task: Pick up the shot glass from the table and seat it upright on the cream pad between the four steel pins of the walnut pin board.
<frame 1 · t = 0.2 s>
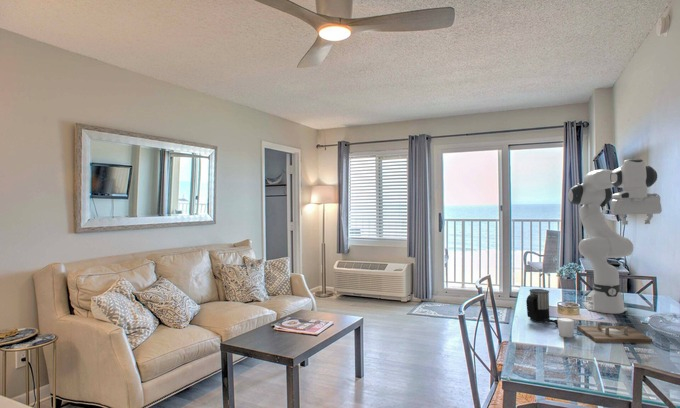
hand: (636, 224, 190), 48 cm above the table, tool pointing down, fingers open, 8 cm apart
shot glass: (566, 335, 185), on the table
pin board: (612, 335, 182), on the table
milk frother: (545, 322, 205), on the table
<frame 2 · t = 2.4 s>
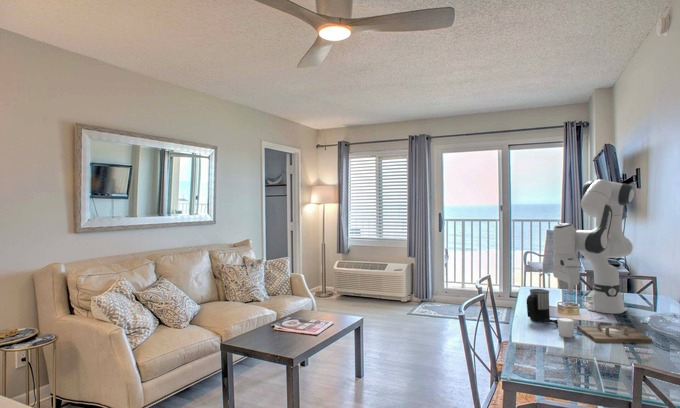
hand: (566, 291, 184), 20 cm above the table, tool pointing down, fingers open, 8 cm apart
nothing on the table moved.
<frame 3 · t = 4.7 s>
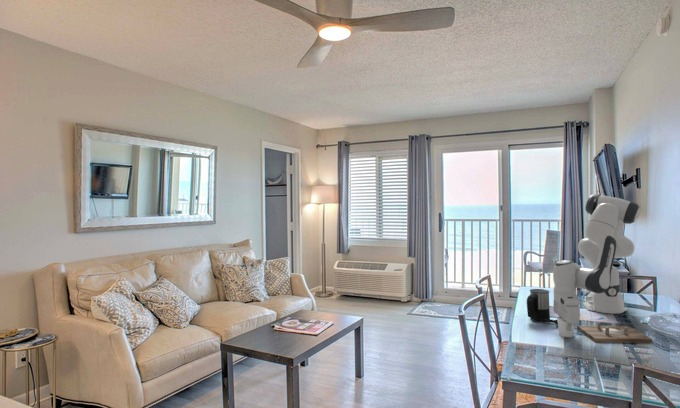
hand: (566, 328, 185), 3 cm above the table, tool pointing down, fingers closed on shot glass, 5 cm apart
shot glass: (566, 335, 185), on the table, touching gripper
everything else where it was.
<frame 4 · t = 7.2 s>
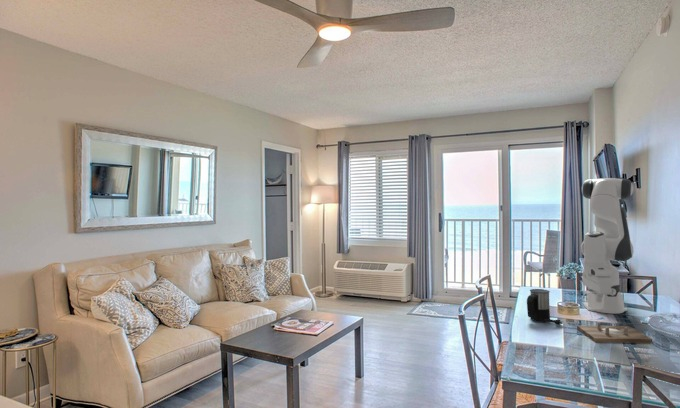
hand: (595, 300, 183), 15 cm above the table, tool pointing down, fingers closed on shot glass, 5 cm apart
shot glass: (595, 308, 184), point 12 cm above the table, touching gripper
everything else where it was.
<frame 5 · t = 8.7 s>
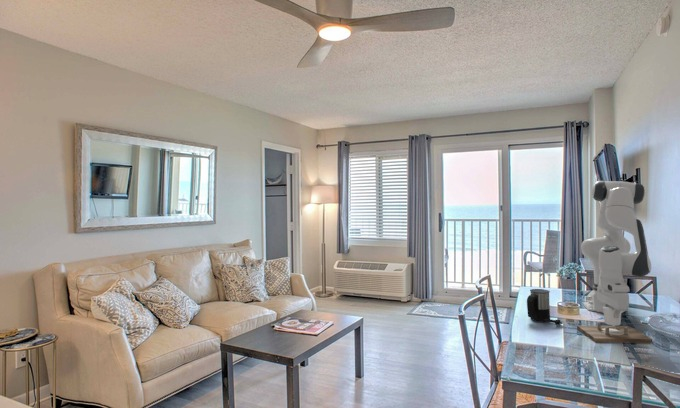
hand: (612, 315, 182), 9 cm above the table, tool pointing down, fingers closed on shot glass, 5 cm apart
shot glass: (612, 323, 182), point 5 cm above the table, touching gripper
everything else where it was.
when the fingers open (6 cm above the table, at t = 9.8 s): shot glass stays where it is, resting on pin board.
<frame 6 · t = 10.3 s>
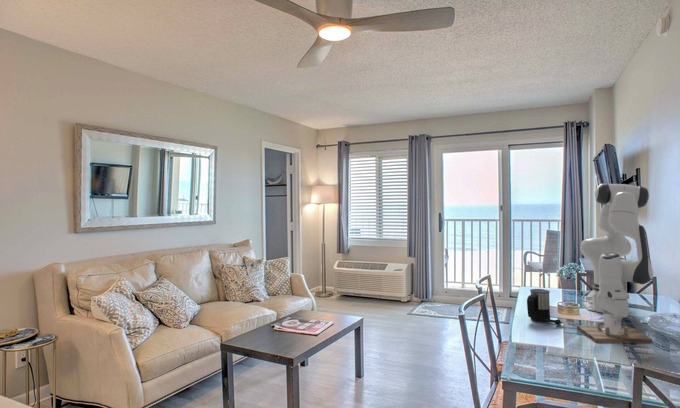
hand: (612, 322, 182), 6 cm above the table, tool pointing down, fingers open, 8 cm apart
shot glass: (612, 331, 182), point 2 cm above the table, touching pin board
everything else where it was.
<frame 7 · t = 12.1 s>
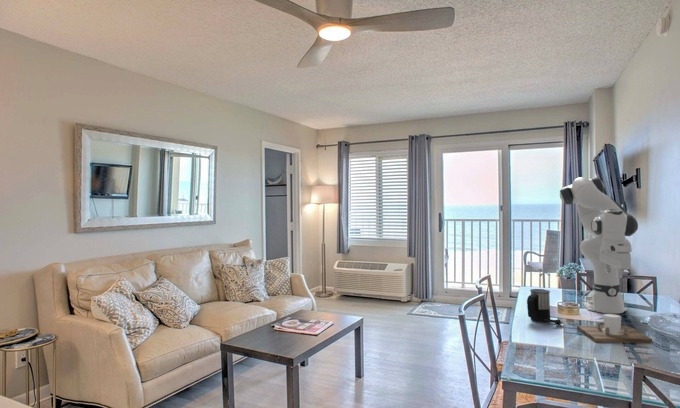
hand: (613, 275, 190), 25 cm above the table, tool pointing down, fingers open, 8 cm apart
nothing on the table moved.
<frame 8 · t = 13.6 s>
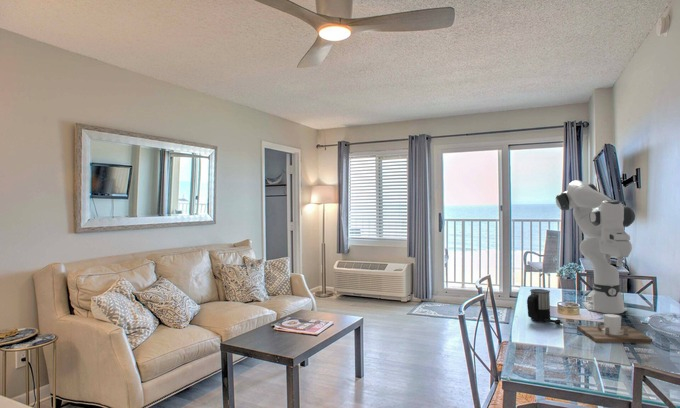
hand: (613, 264, 193), 29 cm above the table, tool pointing down, fingers open, 8 cm apart
nothing on the table moved.
at the end: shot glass 0.0 cm off-centre on the pin board, point 1.6 cm above the pin board's base; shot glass tilted 0°; the gripper is holding nothing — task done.
